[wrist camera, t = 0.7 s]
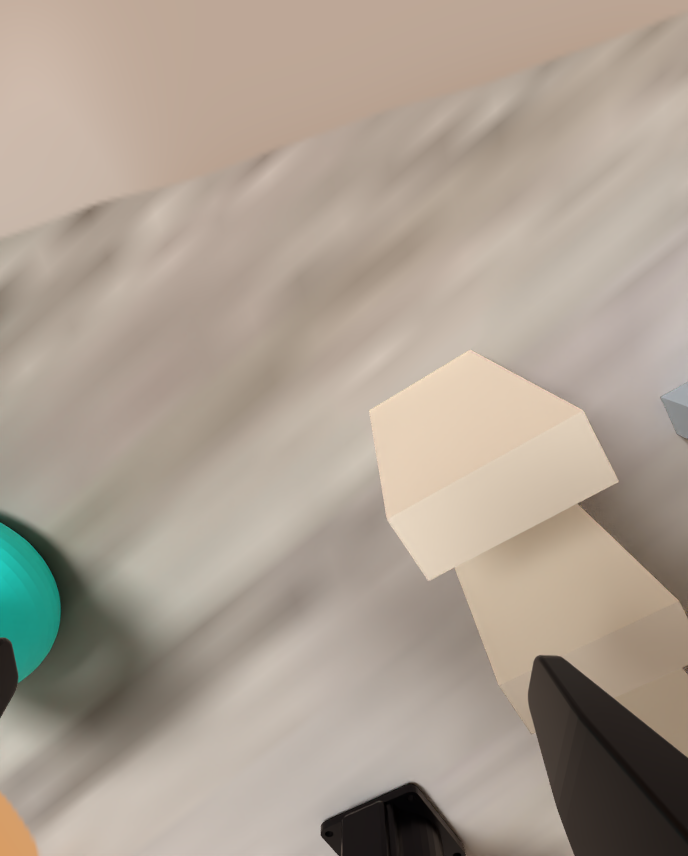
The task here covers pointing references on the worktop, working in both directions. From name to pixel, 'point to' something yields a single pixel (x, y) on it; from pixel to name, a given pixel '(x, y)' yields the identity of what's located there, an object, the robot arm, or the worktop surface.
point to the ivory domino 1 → (480, 460)
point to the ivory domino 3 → (663, 707)
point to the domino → (678, 409)
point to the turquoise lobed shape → (26, 602)
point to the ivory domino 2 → (572, 609)
